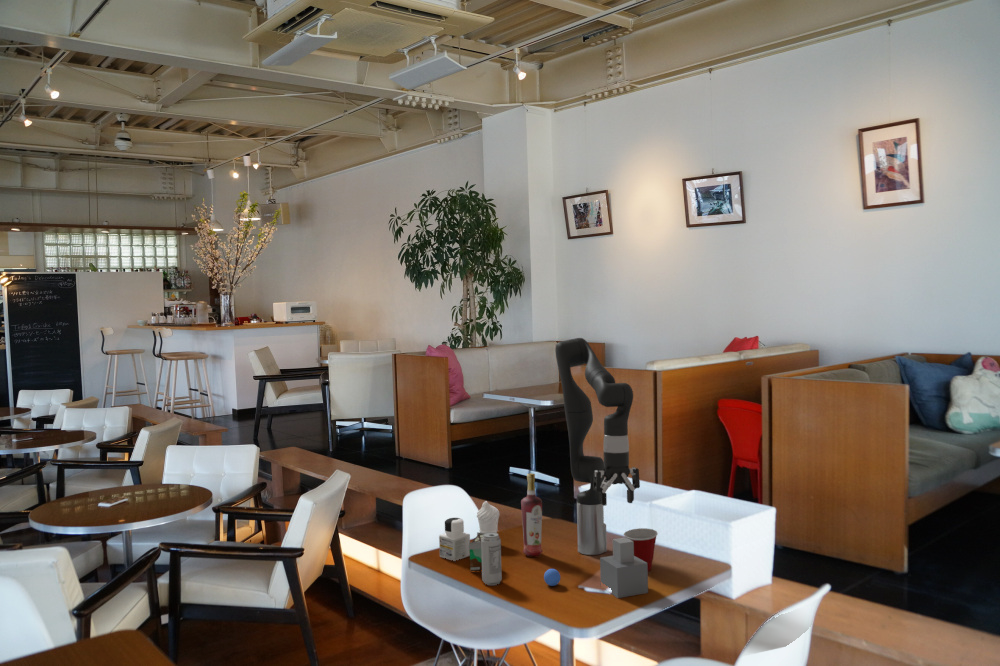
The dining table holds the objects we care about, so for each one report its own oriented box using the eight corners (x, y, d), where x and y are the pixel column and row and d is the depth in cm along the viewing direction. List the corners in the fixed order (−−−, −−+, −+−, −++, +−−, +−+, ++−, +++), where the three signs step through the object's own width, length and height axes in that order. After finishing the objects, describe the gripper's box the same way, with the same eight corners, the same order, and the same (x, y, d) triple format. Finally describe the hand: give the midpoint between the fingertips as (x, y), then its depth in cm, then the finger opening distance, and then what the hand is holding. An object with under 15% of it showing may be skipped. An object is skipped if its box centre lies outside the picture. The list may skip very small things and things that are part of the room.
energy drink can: (495, 577, 231) (493, 530, 231) (505, 583, 226) (504, 535, 226) (478, 581, 228) (477, 534, 228) (488, 587, 223) (487, 538, 222)
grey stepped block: (630, 581, 225) (629, 533, 225) (648, 592, 215) (647, 542, 215) (600, 586, 221) (599, 537, 221) (617, 598, 212) (616, 547, 212)
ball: (556, 581, 226) (555, 565, 226) (563, 586, 222) (563, 570, 222) (541, 583, 225) (541, 567, 225) (548, 589, 220) (547, 572, 220)
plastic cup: (619, 565, 240) (618, 529, 239) (650, 562, 242) (649, 526, 242) (631, 576, 229) (631, 538, 229) (664, 573, 231) (663, 535, 231)
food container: (488, 574, 234) (487, 543, 234) (469, 573, 235) (468, 543, 235) (496, 562, 246) (495, 532, 246) (478, 561, 247) (477, 531, 247)
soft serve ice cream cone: (498, 540, 270) (497, 497, 269) (502, 547, 261) (501, 503, 261) (475, 542, 268) (474, 499, 268) (479, 549, 260) (478, 504, 260)
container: (439, 557, 253) (438, 519, 253) (455, 551, 258) (454, 514, 258) (454, 561, 248) (453, 523, 247) (470, 555, 253) (469, 518, 253)
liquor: (529, 559, 247) (527, 477, 247) (518, 554, 254) (516, 473, 253) (547, 555, 251) (545, 474, 251) (535, 550, 258) (533, 471, 257)
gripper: (631, 446, 225) (632, 499, 225) (589, 449, 220) (589, 503, 220) (643, 450, 217) (644, 504, 217) (599, 453, 213) (600, 508, 213)
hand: (616, 503), depth 219 cm, fingers open, 8 cm apart
